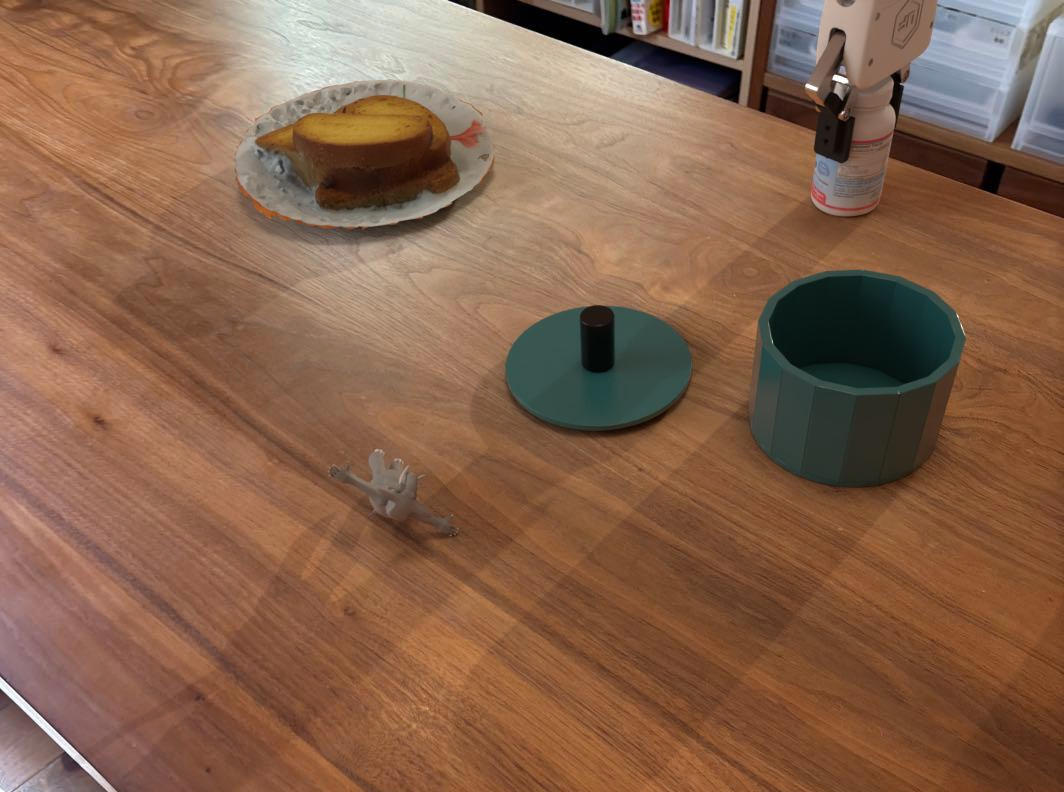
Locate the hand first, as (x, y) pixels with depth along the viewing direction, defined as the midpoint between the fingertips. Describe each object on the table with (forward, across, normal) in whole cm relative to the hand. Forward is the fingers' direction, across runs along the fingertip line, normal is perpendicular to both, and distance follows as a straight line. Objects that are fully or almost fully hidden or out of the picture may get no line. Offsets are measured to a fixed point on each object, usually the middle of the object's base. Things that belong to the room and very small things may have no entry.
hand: (855, 139), depth 96 cm
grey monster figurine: (+6, -53, 0) cm, 53 cm away
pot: (+6, -24, -17) cm, 30 cm away
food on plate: (+6, -25, +38) cm, 46 cm away
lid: (+5, -32, 0) cm, 32 cm away
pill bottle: (+6, 0, 0) cm, 6 cm away
